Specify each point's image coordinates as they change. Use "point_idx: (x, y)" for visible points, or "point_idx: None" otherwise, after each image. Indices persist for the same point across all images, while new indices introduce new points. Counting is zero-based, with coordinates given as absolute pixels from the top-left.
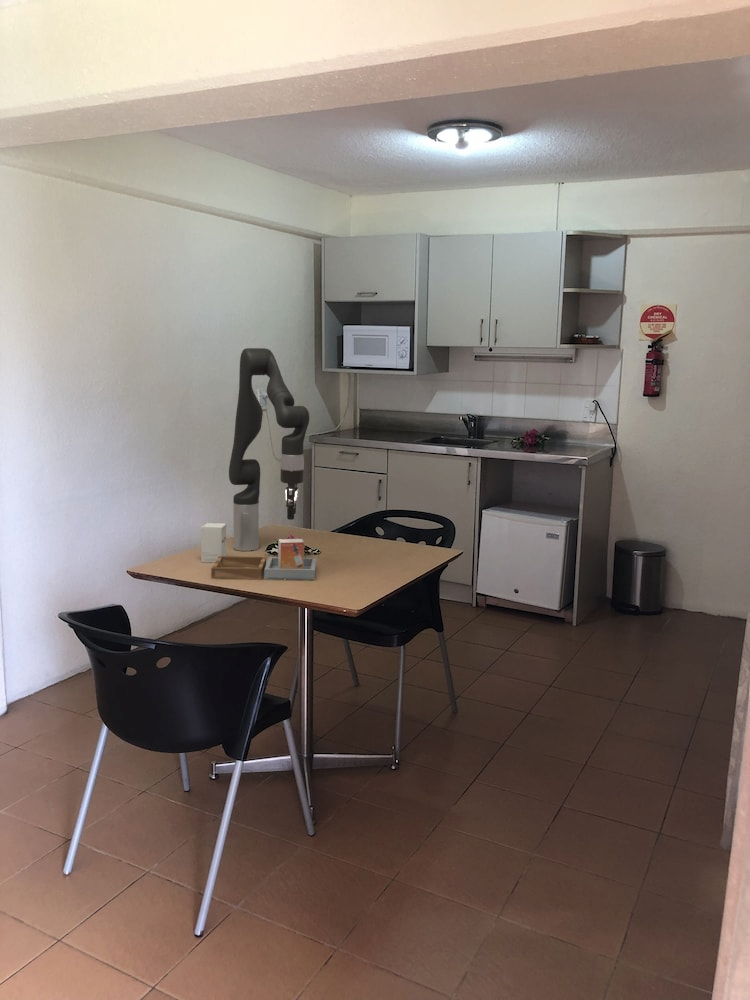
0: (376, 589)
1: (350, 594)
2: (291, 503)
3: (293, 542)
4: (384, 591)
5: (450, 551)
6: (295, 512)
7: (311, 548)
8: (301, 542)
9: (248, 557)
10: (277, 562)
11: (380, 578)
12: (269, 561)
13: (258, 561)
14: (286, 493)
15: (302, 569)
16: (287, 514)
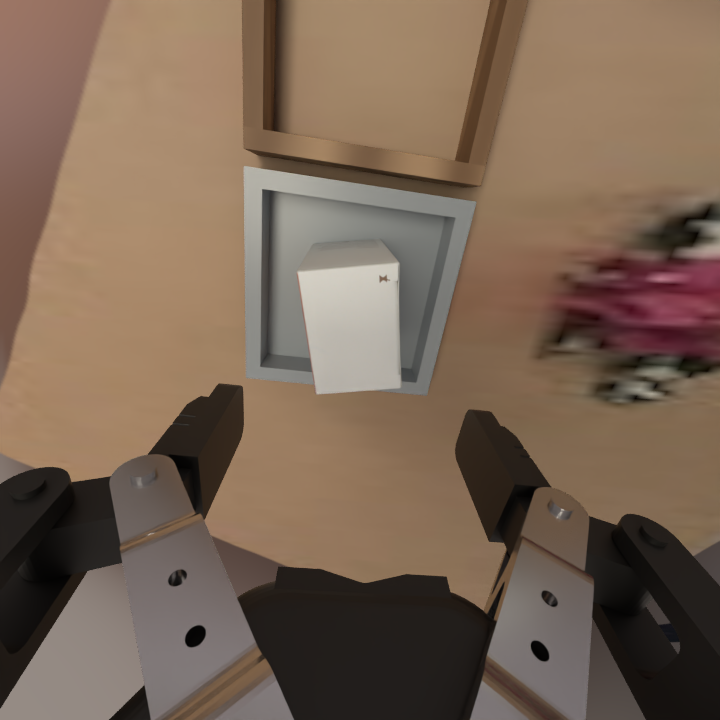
0: None
1: (116, 444)
2: (501, 501)
3: (308, 344)
4: None
5: None
6: (458, 460)
7: (687, 379)
8: (314, 382)
9: (490, 75)
10: (444, 240)
11: (289, 519)
12: (391, 199)
13: (467, 143)
14: (152, 703)
15: (252, 337)
16: (202, 407)
